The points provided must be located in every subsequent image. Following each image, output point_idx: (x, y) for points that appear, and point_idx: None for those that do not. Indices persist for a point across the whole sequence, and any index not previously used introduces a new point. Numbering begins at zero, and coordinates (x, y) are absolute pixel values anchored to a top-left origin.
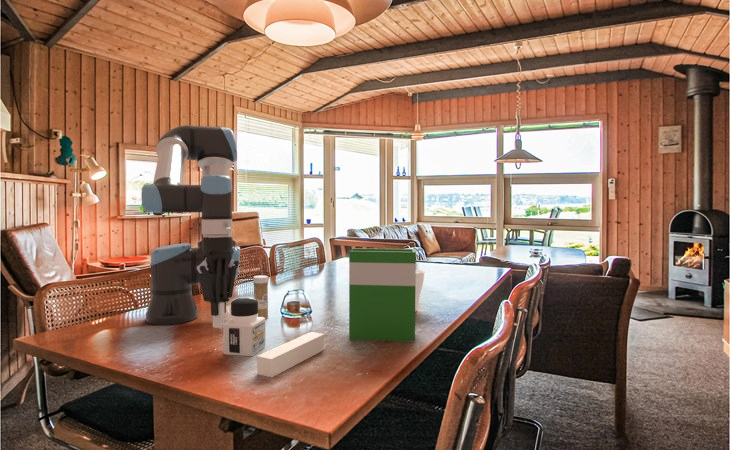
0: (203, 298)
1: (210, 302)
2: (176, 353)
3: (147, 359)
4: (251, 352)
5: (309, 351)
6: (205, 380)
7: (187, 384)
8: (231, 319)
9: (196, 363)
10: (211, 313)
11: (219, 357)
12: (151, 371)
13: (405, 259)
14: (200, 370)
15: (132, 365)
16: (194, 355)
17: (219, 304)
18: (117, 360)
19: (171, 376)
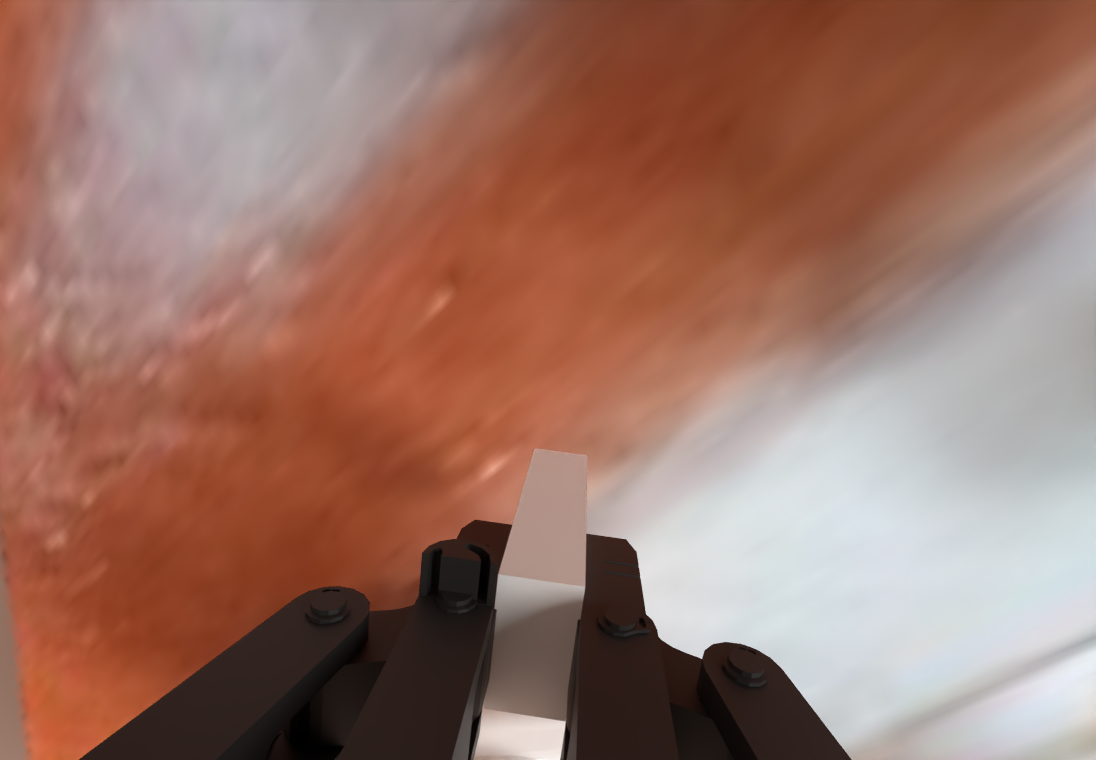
0: (279, 610)
1: (407, 616)
2: (317, 284)
3: (151, 191)
4: None
5: None
6: (130, 697)
7: (59, 654)
8: (483, 736)
9: (257, 522)
10: (458, 538)
11: (387, 579)
12: (54, 378)
13: None
14: (199, 604)
15: (43, 191)
16: (344, 422)
17: (488, 685)
18: (35, 4)
19: (73, 525)
